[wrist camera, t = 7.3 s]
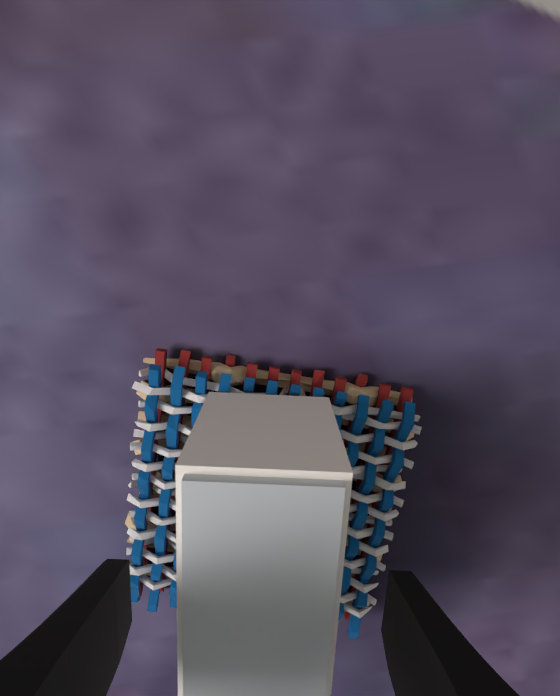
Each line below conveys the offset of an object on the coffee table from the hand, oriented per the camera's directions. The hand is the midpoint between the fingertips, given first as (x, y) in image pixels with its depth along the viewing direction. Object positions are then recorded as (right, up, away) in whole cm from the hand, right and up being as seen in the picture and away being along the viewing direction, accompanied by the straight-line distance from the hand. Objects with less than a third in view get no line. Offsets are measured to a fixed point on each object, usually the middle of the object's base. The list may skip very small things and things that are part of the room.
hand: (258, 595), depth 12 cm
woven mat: (0, +2, +6) cm, 6 cm away
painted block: (0, +1, +4) cm, 4 cm away
